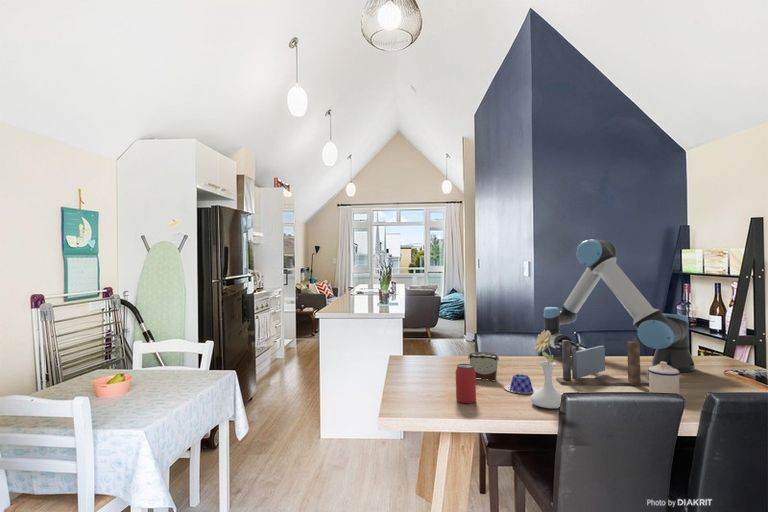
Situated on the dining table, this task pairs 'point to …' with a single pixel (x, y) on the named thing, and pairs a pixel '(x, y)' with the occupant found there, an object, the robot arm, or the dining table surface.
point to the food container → (484, 364)
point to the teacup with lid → (663, 378)
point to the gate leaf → (587, 361)
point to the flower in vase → (546, 376)
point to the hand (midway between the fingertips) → (588, 353)
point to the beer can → (465, 383)
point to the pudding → (521, 384)
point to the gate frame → (632, 379)
